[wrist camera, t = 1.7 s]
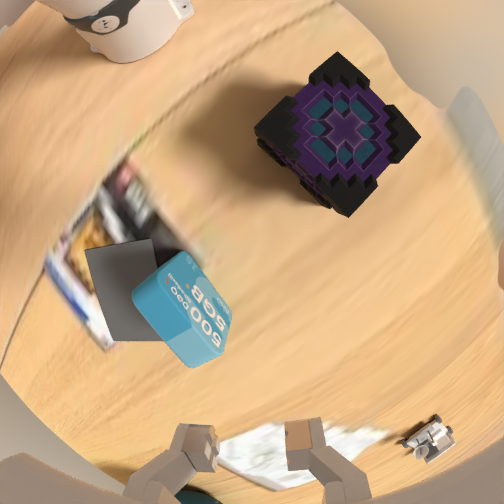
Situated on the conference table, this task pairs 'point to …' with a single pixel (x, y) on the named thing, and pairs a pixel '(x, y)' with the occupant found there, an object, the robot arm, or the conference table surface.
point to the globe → (194, 498)
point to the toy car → (430, 440)
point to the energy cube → (336, 135)
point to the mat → (123, 286)
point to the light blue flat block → (184, 310)
